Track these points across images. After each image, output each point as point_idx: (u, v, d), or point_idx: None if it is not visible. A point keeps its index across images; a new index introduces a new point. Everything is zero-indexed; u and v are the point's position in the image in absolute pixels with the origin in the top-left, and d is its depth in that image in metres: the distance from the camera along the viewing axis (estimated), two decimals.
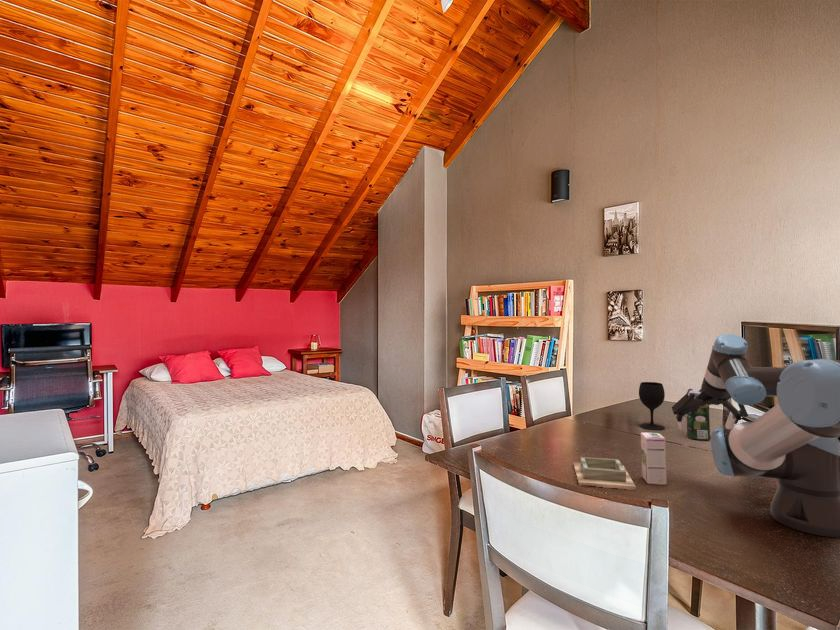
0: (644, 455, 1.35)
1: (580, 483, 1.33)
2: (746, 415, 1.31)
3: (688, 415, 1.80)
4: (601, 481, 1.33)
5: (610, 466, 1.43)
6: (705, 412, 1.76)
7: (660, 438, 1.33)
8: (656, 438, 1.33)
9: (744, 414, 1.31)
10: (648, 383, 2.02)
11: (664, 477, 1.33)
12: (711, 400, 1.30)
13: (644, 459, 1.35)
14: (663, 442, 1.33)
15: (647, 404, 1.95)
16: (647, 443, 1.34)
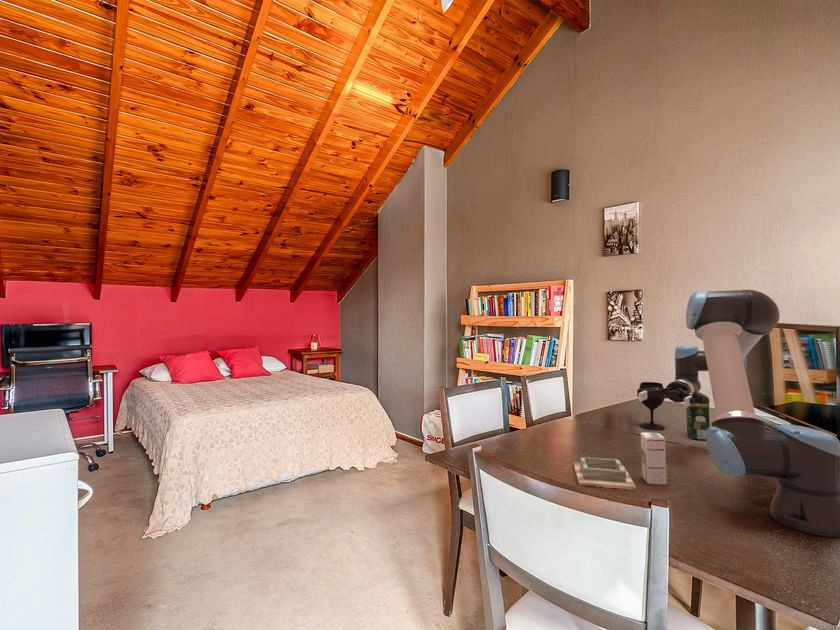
0: (644, 455, 1.35)
1: (580, 483, 1.33)
2: (701, 396, 1.42)
3: (688, 415, 1.80)
4: (601, 481, 1.33)
5: (610, 466, 1.43)
6: (705, 412, 1.76)
7: (660, 438, 1.33)
8: (656, 438, 1.33)
9: (700, 396, 1.42)
10: (648, 383, 2.02)
11: (664, 477, 1.33)
12: (670, 387, 1.54)
13: (644, 459, 1.35)
14: (663, 442, 1.33)
15: (647, 404, 1.95)
16: (647, 443, 1.34)
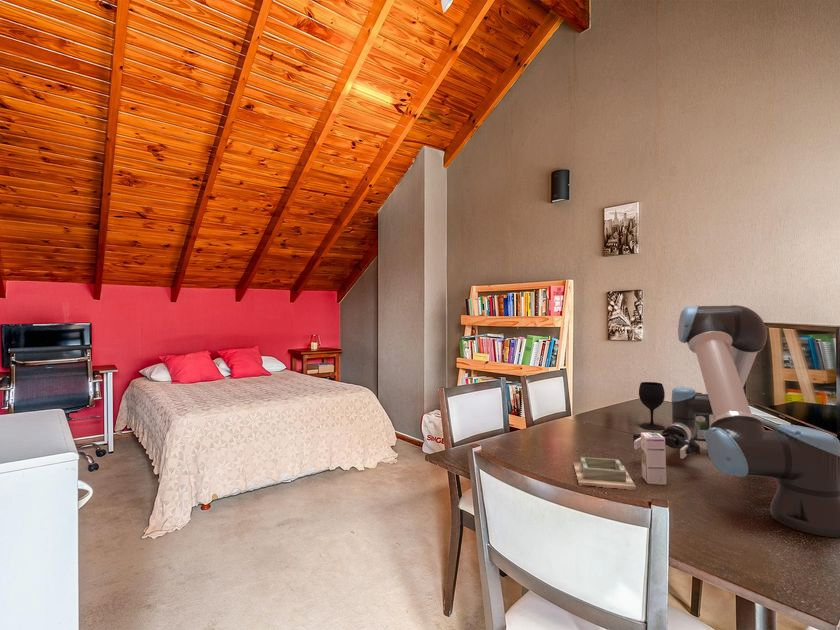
0: (644, 455, 1.35)
1: (580, 483, 1.33)
2: (698, 446, 1.39)
3: None
4: (601, 481, 1.33)
5: (610, 466, 1.43)
6: None
7: (660, 438, 1.33)
8: (656, 438, 1.33)
9: (696, 445, 1.40)
10: (648, 383, 2.02)
11: (664, 477, 1.33)
12: (667, 433, 1.52)
13: (644, 459, 1.35)
14: (663, 442, 1.33)
15: (647, 404, 1.95)
16: (647, 443, 1.34)
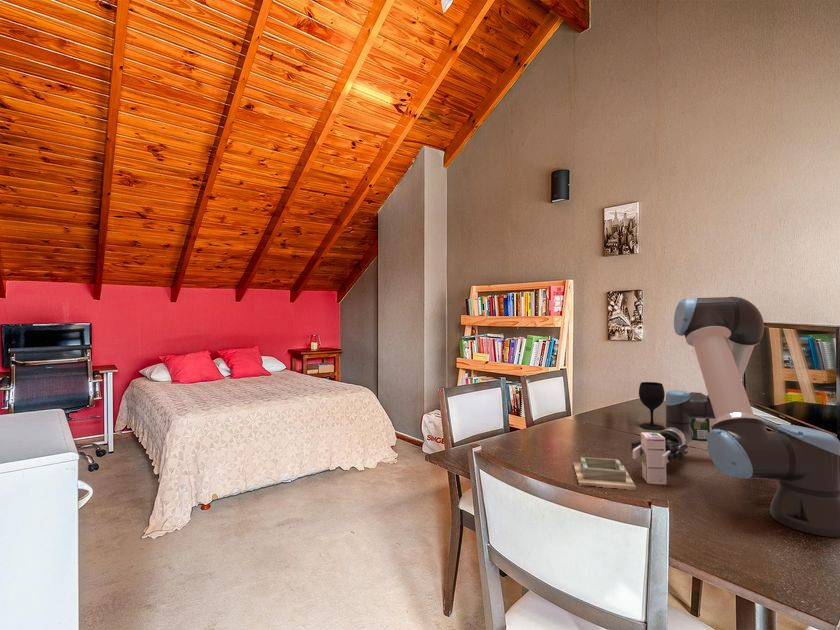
0: (644, 455, 1.35)
1: (580, 483, 1.33)
2: (681, 452, 1.33)
3: None
4: (601, 481, 1.33)
5: (610, 466, 1.43)
6: None
7: (660, 438, 1.33)
8: (656, 438, 1.33)
9: (679, 451, 1.34)
10: (648, 383, 2.02)
11: (664, 476, 1.33)
12: None
13: (644, 459, 1.35)
14: (663, 442, 1.33)
15: (647, 404, 1.95)
16: (647, 443, 1.34)
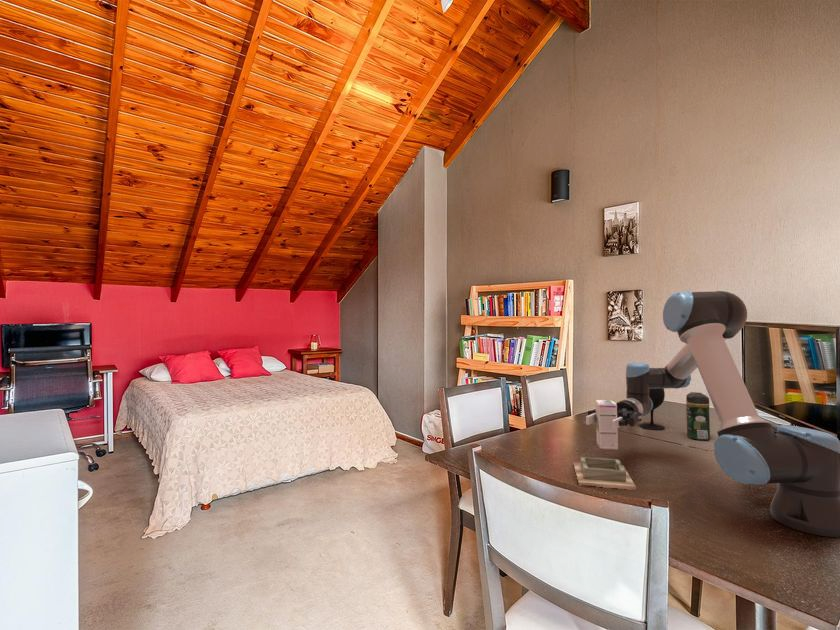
0: (597, 421, 1.40)
1: (580, 483, 1.33)
2: (632, 418, 1.37)
3: (688, 415, 1.80)
4: (601, 481, 1.33)
5: (610, 466, 1.43)
6: (705, 412, 1.76)
7: (612, 404, 1.37)
8: (608, 404, 1.37)
9: (631, 417, 1.38)
10: None
11: (616, 441, 1.37)
12: None
13: (597, 425, 1.40)
14: (615, 408, 1.37)
15: None
16: (599, 409, 1.38)
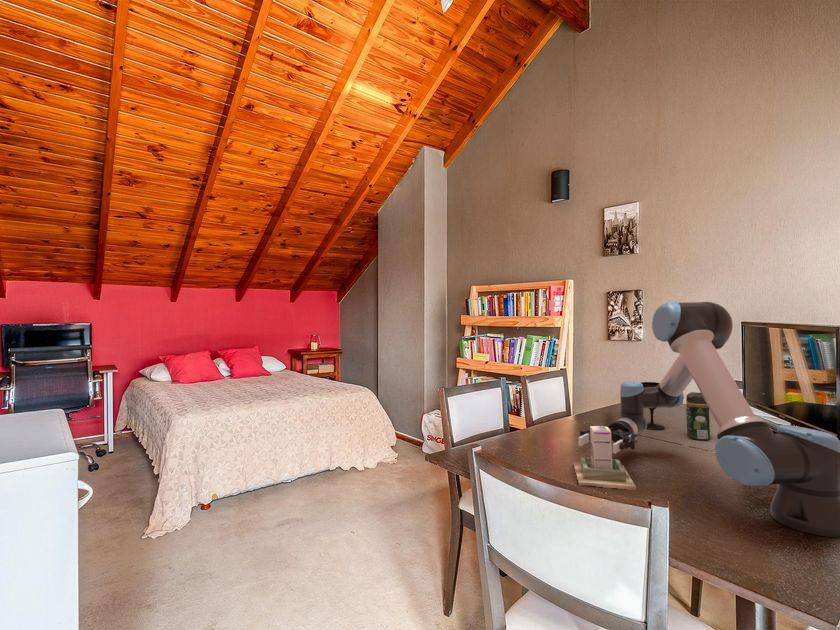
0: (592, 448, 1.39)
1: (580, 483, 1.33)
2: (633, 440, 1.37)
3: (688, 415, 1.80)
4: (601, 481, 1.33)
5: None
6: (705, 412, 1.76)
7: (606, 431, 1.37)
8: (602, 431, 1.37)
9: (631, 440, 1.37)
10: (648, 383, 2.02)
11: (610, 468, 1.37)
12: (611, 428, 1.49)
13: (592, 452, 1.40)
14: (609, 435, 1.37)
15: None
16: (594, 436, 1.38)
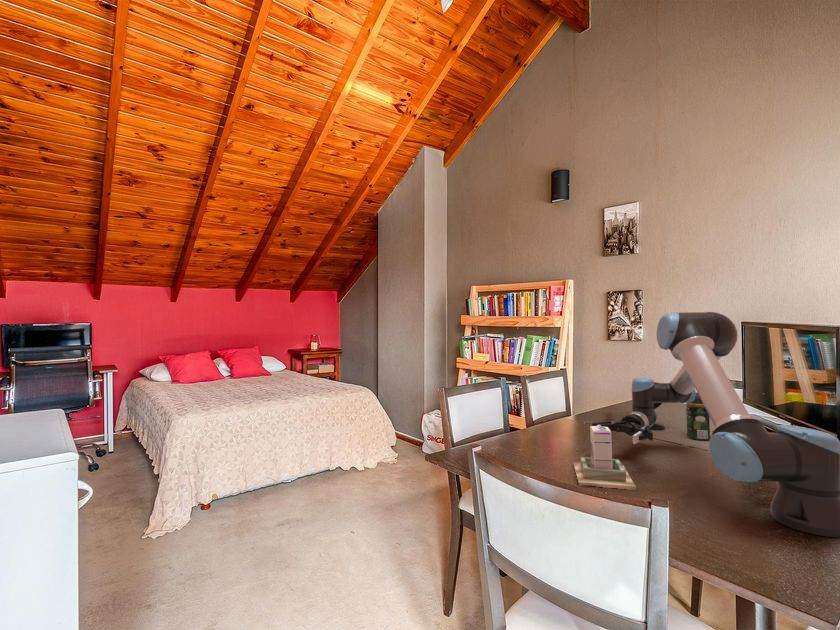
0: (592, 448, 1.39)
1: (580, 483, 1.33)
2: (651, 432, 1.45)
3: (688, 415, 1.80)
4: (601, 481, 1.33)
5: None
6: (705, 412, 1.76)
7: (606, 431, 1.37)
8: (603, 431, 1.37)
9: (649, 432, 1.46)
10: None
11: (610, 469, 1.37)
12: (624, 421, 1.58)
13: (592, 452, 1.39)
14: (609, 435, 1.37)
15: None
16: (594, 436, 1.38)
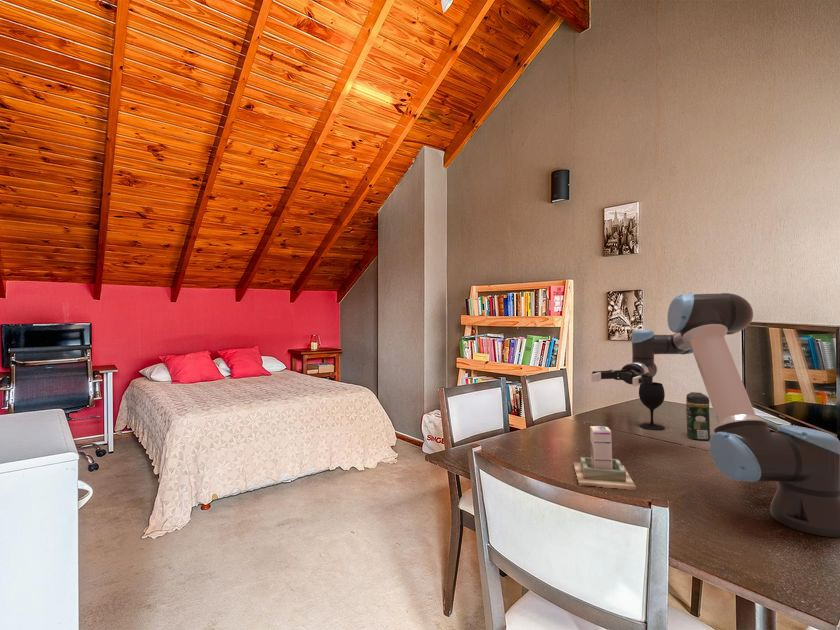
0: (592, 448, 1.39)
1: (580, 483, 1.33)
2: (650, 376, 1.46)
3: (688, 415, 1.80)
4: (601, 481, 1.33)
5: None
6: (705, 412, 1.76)
7: (606, 431, 1.37)
8: (603, 431, 1.37)
9: (649, 376, 1.46)
10: None
11: (610, 469, 1.37)
12: (624, 369, 1.58)
13: (592, 452, 1.39)
14: (609, 435, 1.37)
15: (647, 404, 1.95)
16: (594, 436, 1.38)
